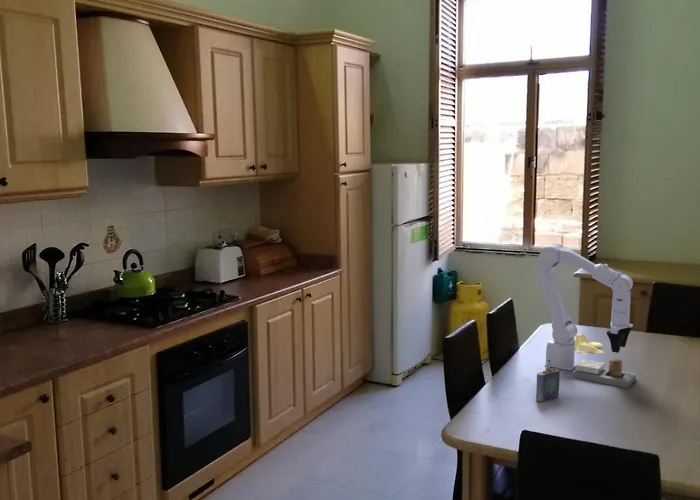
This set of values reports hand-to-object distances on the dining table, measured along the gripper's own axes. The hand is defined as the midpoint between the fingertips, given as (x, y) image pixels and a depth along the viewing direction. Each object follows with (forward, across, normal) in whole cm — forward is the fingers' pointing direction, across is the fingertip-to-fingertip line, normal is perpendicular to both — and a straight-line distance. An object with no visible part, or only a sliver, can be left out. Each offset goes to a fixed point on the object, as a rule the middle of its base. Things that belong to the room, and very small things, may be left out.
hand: (618, 349), depth 230 cm
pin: (+9, -5, -1) cm, 11 cm away
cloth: (+10, +25, +20) cm, 34 cm away
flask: (+10, -34, +12) cm, 38 cm away
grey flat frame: (+9, -5, +3) cm, 11 cm away
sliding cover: (+7, -5, +8) cm, 12 cm away
